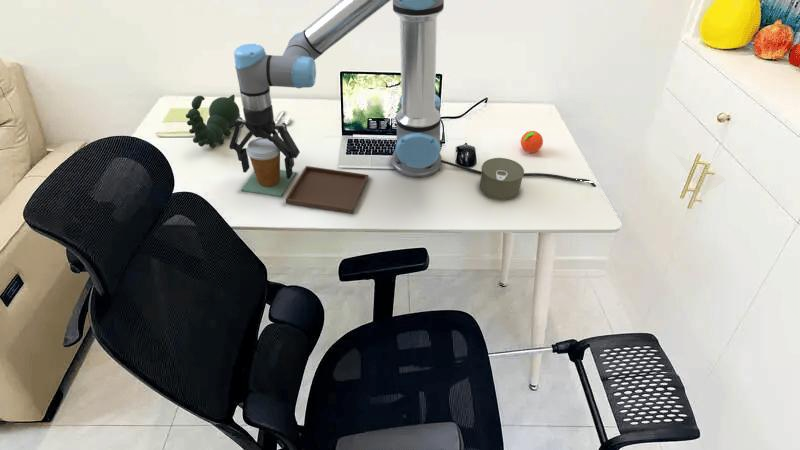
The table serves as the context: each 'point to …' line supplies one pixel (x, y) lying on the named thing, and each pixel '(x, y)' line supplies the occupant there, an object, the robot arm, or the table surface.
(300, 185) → the tray
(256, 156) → the disposable coffee cup
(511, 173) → the can
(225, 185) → the table surface
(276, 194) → the mat
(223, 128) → the toy figurine
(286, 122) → the picture light
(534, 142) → the clementine
